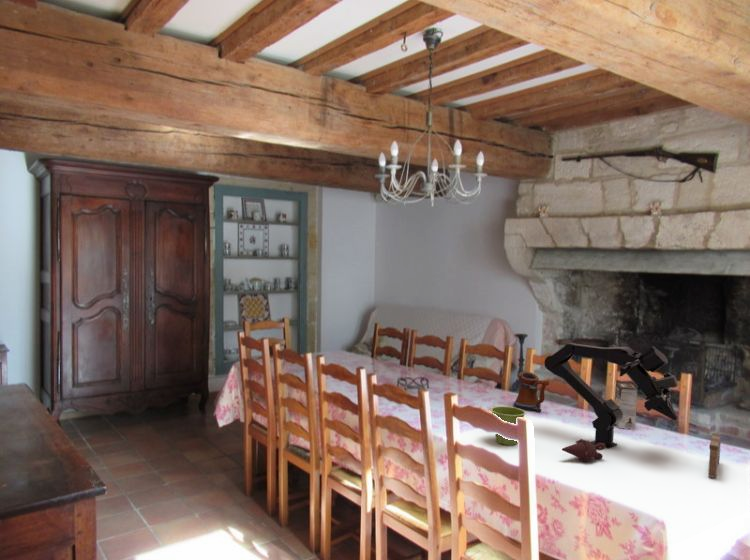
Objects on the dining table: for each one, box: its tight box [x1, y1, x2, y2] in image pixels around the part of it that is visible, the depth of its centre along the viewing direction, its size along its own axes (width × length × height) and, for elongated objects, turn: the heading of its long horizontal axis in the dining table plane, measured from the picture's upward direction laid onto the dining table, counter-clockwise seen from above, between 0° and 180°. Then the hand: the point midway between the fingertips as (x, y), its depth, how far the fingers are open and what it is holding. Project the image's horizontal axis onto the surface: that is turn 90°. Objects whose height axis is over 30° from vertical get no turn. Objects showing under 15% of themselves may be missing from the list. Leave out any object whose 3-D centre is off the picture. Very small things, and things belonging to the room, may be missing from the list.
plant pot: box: [490, 405, 527, 446], centre depth 196 cm, size 12×12×11 cm
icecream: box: [561, 438, 607, 463], centre depth 181 cm, size 7×7×15 cm
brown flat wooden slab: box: [708, 432, 720, 478], centre depth 175 cm, size 14×2×10 cm, turn 146°
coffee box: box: [614, 382, 638, 430], centre depth 220 cm, size 9×6×16 cm
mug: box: [513, 371, 551, 413], centre depth 239 cm, size 18×12×15 cm, turn 24°
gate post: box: [714, 432, 722, 465], centre depth 182 cm, size 2×2×10 cm
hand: (676, 419), depth 183 cm, fingers closed
